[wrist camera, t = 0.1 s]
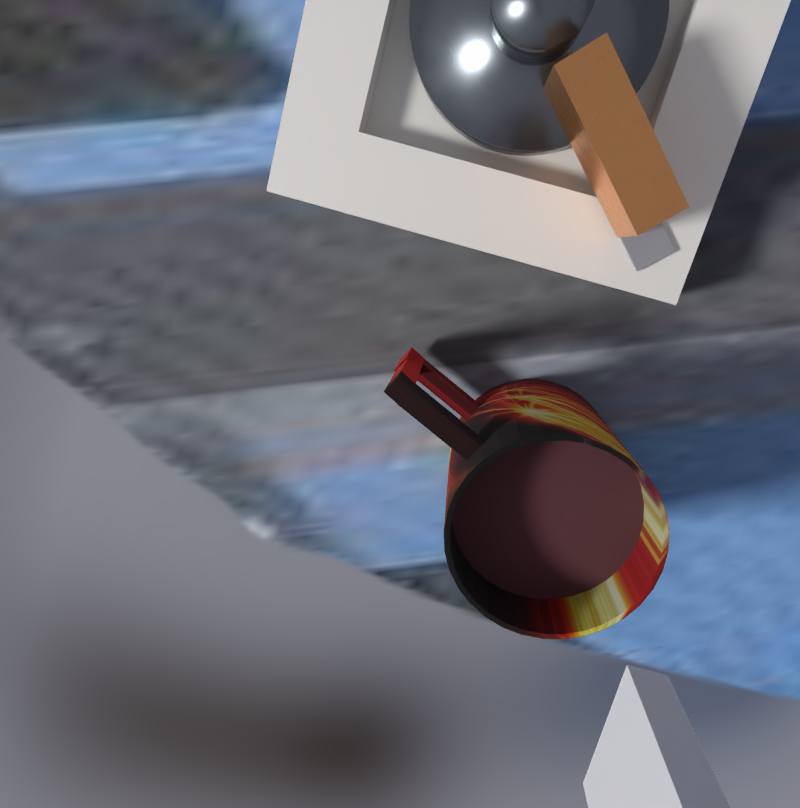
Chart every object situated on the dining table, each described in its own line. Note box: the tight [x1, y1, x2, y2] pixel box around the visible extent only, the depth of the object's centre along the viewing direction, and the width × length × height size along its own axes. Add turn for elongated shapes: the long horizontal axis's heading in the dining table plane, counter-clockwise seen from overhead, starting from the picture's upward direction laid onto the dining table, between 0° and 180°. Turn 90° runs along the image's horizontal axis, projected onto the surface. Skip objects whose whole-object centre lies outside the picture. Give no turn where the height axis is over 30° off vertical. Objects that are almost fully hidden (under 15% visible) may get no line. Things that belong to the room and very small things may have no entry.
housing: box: [267, 0, 791, 305], centre depth 30 cm, size 22×22×9 cm
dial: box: [409, 0, 689, 237], centre depth 30 cm, size 17×12×6 cm
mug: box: [384, 347, 669, 639], centre depth 34 cm, size 10×14×12 cm
